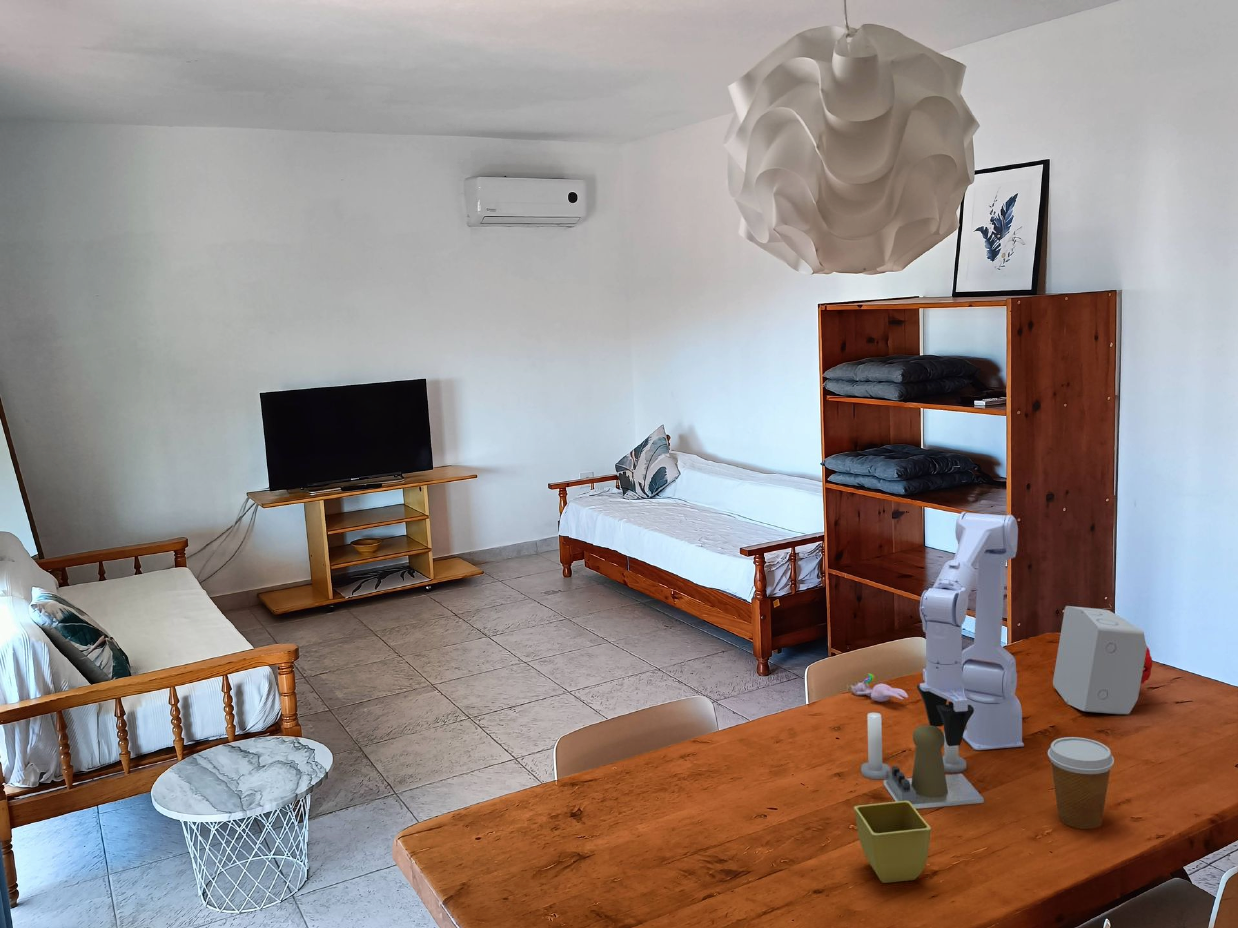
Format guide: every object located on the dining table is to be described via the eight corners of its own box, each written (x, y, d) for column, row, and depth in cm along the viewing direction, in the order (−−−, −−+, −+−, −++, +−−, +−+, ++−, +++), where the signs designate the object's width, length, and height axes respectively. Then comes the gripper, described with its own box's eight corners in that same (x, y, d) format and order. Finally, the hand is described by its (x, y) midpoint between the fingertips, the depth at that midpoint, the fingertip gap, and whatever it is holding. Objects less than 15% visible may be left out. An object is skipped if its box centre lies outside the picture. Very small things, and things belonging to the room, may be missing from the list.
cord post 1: (884, 765, 178) (883, 708, 176) (893, 778, 173) (892, 719, 171) (857, 767, 178) (856, 710, 176) (866, 780, 173) (864, 721, 171)
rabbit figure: (842, 700, 212) (896, 710, 199) (838, 673, 212) (892, 681, 199) (862, 693, 215) (916, 702, 203) (858, 666, 215) (912, 674, 203)
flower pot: (854, 859, 148) (852, 804, 147) (909, 853, 149) (909, 799, 148) (874, 893, 140) (872, 834, 138) (933, 886, 140) (932, 828, 139)
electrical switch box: (1157, 724, 193) (1175, 627, 190) (1083, 717, 193) (1099, 620, 190) (1121, 696, 207) (1136, 605, 204) (1051, 689, 207) (1066, 599, 204)
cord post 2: (959, 759, 178) (959, 702, 177) (970, 771, 174) (970, 713, 172) (932, 761, 178) (932, 704, 177) (943, 773, 173) (942, 715, 172)
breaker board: (961, 777, 171) (961, 756, 171) (983, 802, 163) (983, 780, 162) (883, 784, 171) (883, 763, 170) (901, 809, 162) (901, 787, 161)
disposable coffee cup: (1086, 841, 149) (1087, 767, 148) (1034, 814, 158) (1034, 745, 156) (1126, 823, 154) (1127, 751, 152) (1073, 798, 162) (1074, 730, 160)
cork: (943, 780, 169) (942, 720, 168) (951, 797, 163) (951, 735, 162) (907, 780, 170) (906, 721, 168) (914, 797, 164) (913, 735, 162)
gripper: (905, 646, 170) (906, 719, 172) (936, 676, 156) (938, 755, 158) (945, 643, 171) (945, 716, 173) (980, 672, 156) (980, 752, 158)
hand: (944, 735), depth 165 cm, fingers open, 7 cm apart
